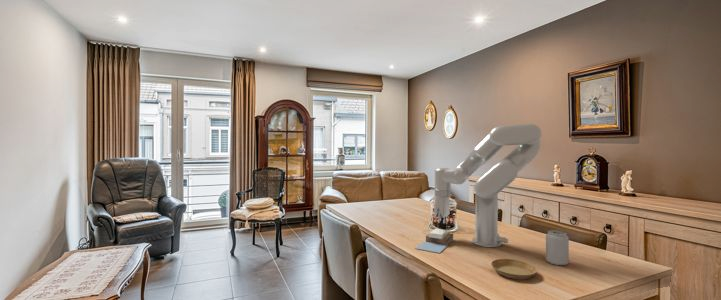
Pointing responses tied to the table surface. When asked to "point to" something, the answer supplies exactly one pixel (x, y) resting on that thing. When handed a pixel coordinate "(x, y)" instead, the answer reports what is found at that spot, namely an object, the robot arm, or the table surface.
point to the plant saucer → (513, 268)
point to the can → (557, 247)
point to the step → (444, 241)
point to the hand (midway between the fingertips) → (442, 230)
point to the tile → (438, 233)
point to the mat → (431, 247)
